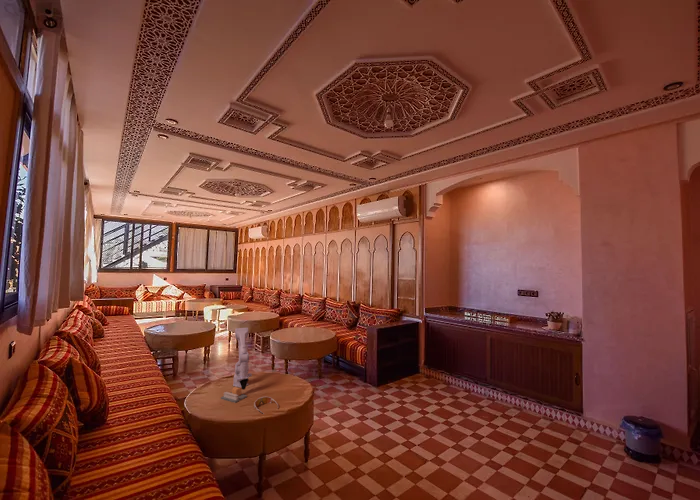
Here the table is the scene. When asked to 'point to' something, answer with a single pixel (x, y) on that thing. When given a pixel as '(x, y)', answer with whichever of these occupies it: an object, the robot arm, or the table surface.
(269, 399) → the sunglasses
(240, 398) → the board
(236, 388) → the block
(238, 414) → the table surface
